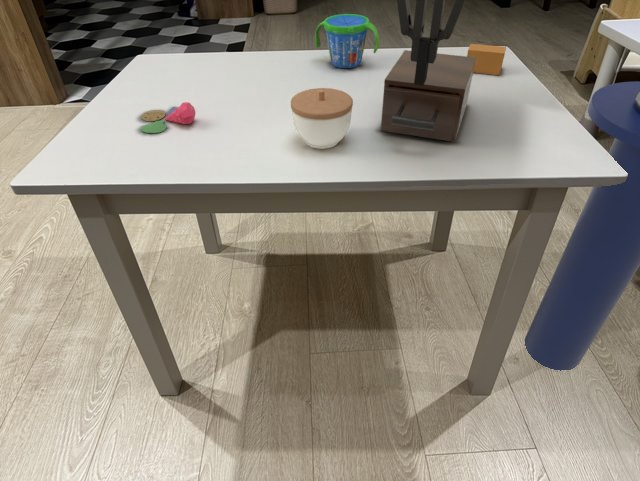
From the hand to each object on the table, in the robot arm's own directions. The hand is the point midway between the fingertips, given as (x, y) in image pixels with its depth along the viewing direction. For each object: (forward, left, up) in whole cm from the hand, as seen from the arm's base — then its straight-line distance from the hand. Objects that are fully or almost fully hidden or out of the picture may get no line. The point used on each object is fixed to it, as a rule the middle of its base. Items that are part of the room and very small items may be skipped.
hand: (420, 81), depth 73 cm
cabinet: (0, -12, -12) cm, 16 cm away
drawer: (0, -6, -11) cm, 12 cm away
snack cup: (+24, -35, -12) cm, 44 cm away
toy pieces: (+48, +5, -12) cm, 50 cm away
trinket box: (+16, +3, -12) cm, 20 cm away
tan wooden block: (-8, -41, -12) cm, 43 cm away
